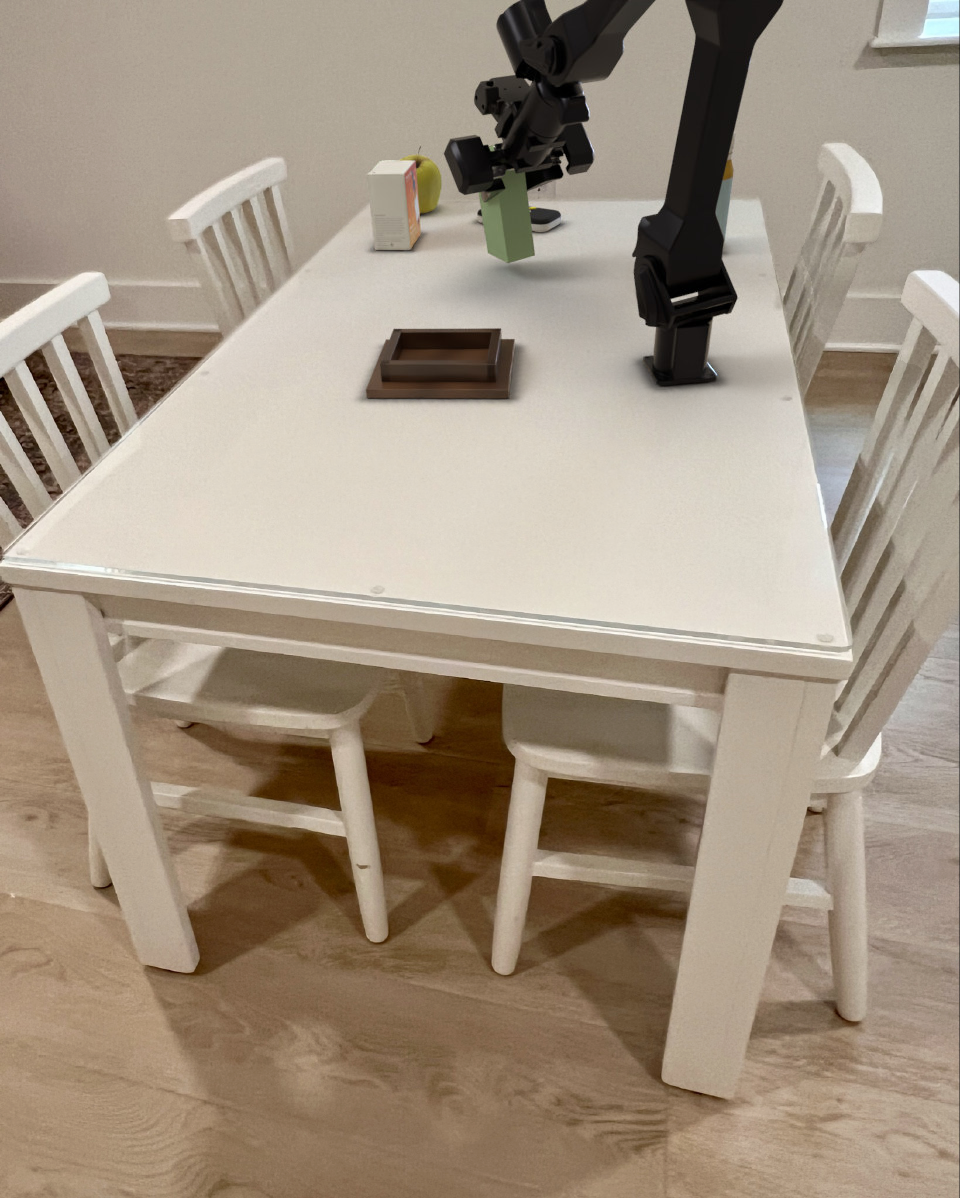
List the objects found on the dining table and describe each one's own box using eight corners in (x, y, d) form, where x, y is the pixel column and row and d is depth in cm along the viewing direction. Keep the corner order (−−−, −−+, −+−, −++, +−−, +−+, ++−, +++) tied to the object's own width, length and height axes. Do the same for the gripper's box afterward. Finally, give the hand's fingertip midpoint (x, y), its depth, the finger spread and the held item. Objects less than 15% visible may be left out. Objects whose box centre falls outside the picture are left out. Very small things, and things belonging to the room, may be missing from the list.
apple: (398, 196, 149) (409, 134, 142) (441, 213, 148) (454, 152, 141) (379, 210, 143) (390, 146, 136) (424, 228, 142) (437, 165, 136)
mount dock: (515, 346, 102) (514, 321, 100) (508, 398, 92) (508, 371, 90) (386, 347, 104) (383, 322, 102) (366, 398, 94) (363, 371, 92)
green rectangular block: (513, 245, 123) (499, 143, 116) (535, 255, 118) (522, 148, 110) (487, 253, 122) (471, 150, 115) (508, 263, 117) (492, 156, 109)
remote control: (545, 234, 134) (545, 220, 132) (473, 223, 139) (473, 209, 138) (564, 222, 138) (564, 209, 136) (494, 212, 143) (493, 199, 142)
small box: (411, 251, 130) (404, 173, 123) (373, 250, 131) (365, 173, 124) (422, 234, 136) (416, 159, 129) (386, 233, 137) (379, 159, 130)
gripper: (585, 43, 106) (536, 130, 120) (445, 61, 99) (412, 151, 114) (619, 128, 105) (567, 205, 120) (481, 151, 99) (443, 230, 113)
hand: (498, 195), depth 117 cm, fingers closed on green rectangular block, 4 cm apart
